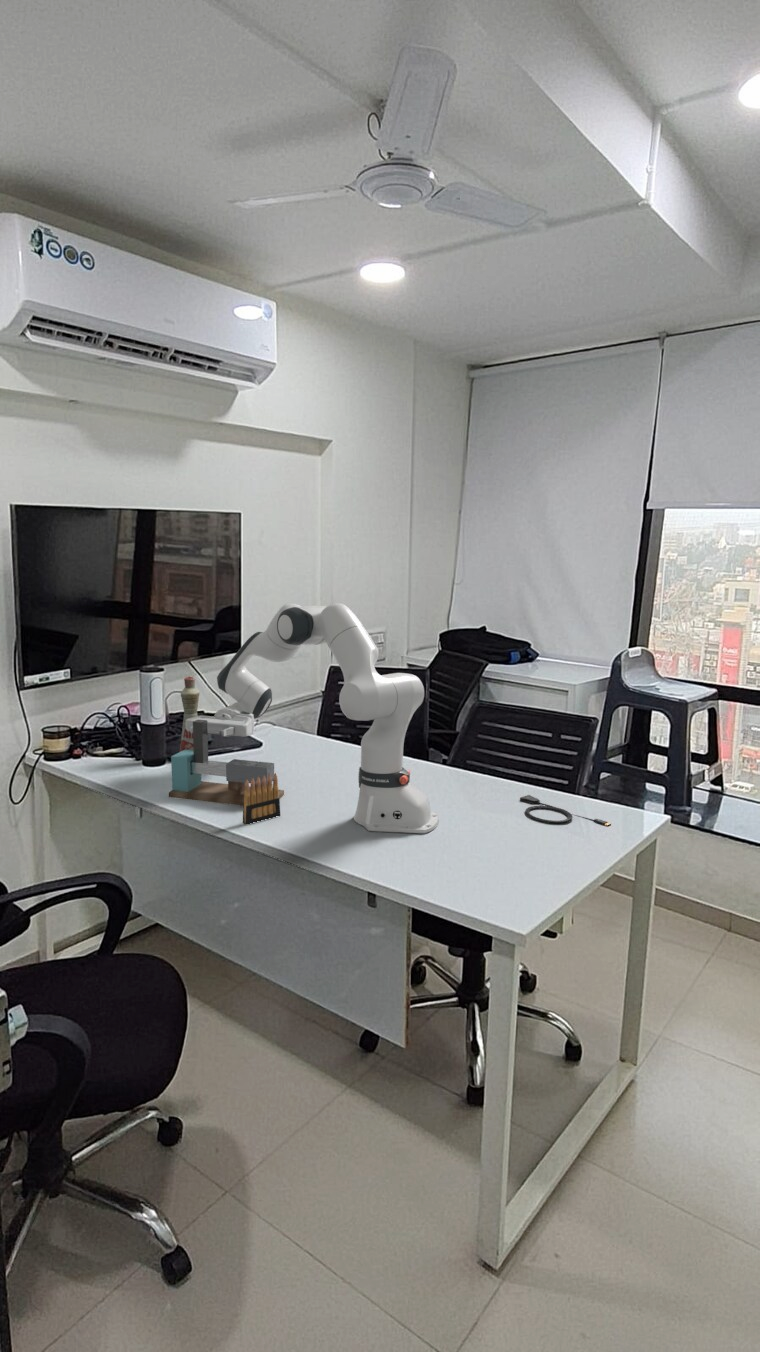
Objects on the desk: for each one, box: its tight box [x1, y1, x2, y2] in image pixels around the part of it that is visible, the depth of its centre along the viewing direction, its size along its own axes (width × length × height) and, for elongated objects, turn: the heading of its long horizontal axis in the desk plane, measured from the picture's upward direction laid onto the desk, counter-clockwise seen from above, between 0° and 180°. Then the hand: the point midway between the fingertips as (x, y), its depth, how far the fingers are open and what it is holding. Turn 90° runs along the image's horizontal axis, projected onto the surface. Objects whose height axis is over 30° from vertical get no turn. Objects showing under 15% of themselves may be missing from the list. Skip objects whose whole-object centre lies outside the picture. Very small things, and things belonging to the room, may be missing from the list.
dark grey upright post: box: [190, 720, 228, 778], centre depth 223 cm, size 19×3×15 cm, turn 74°
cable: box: [519, 794, 612, 827], centre depth 212 cm, size 14×28×2 cm, turn 41°
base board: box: [168, 780, 285, 807], centre depth 223 cm, size 30×12×6 cm, turn 74°
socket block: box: [170, 749, 202, 792], centre depth 226 cm, size 5×8×10 cm, turn 164°
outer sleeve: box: [225, 758, 275, 785], centre depth 220 cm, size 12×5×5 cm, turn 74°
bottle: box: [179, 675, 200, 752], centre depth 259 cm, size 9×9×28 cm
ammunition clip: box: [242, 772, 281, 825], centre depth 205 cm, size 11×2×12 cm, turn 132°
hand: (206, 732), depth 227 cm, fingers open, 8 cm apart
